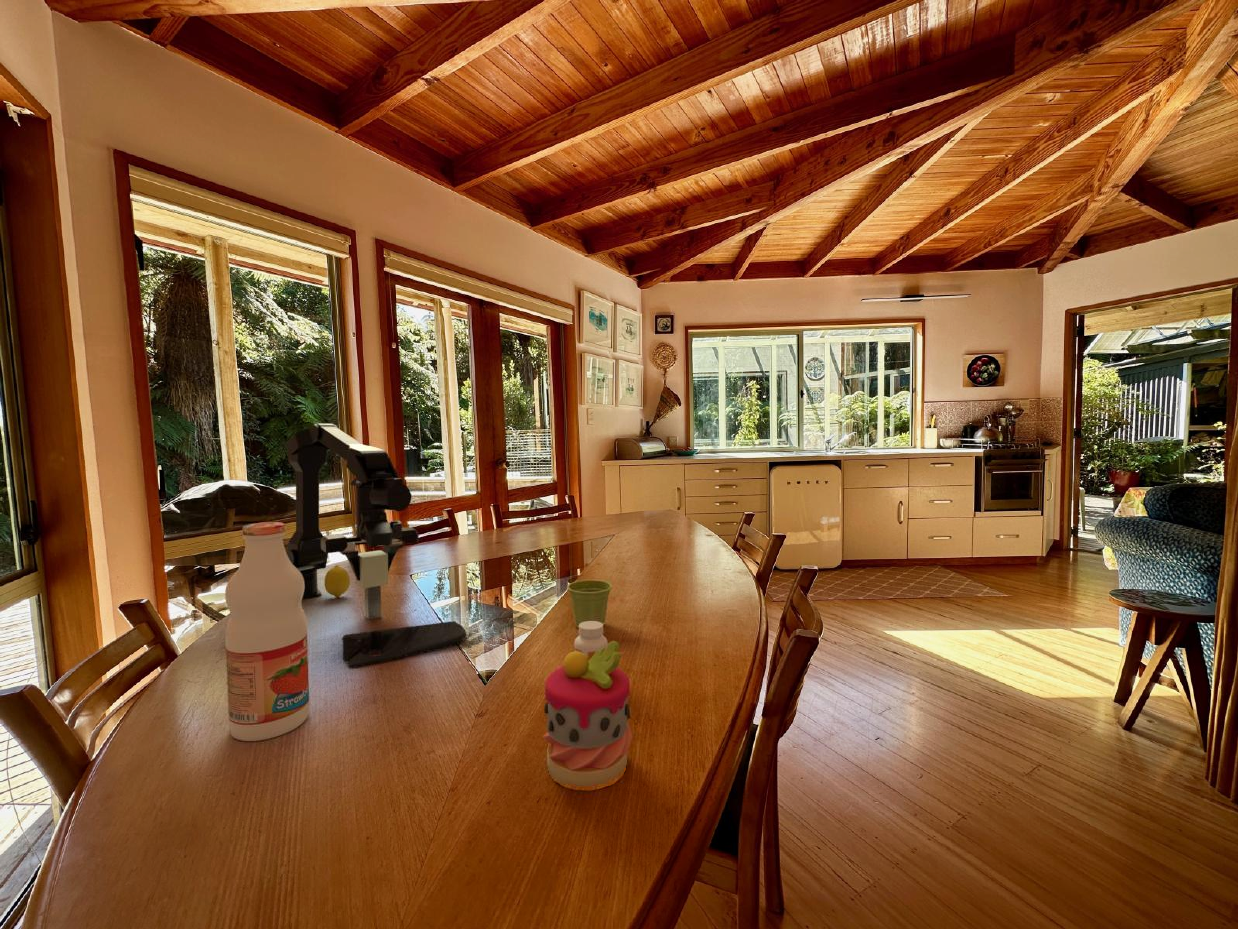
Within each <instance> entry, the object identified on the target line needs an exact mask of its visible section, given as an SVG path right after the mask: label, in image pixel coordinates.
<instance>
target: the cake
mask: <svg viewBox="0 0 1238 929" xmlns="http://www.w3.org/2000/svg"><path fill="white" fill-rule="evenodd" d="M620 661H621V653H620V644H619V642H618V641H615V640H611V641H610V642H609V643H607V647H606V649H605V650H604V651H603V650H601V649H599V650H598V651H597V652H596V653H595V654H594V655H593V657H592V658H591V659H590V660H589V661H588V658H587V657H586V655H585V654H583V653H581V652H579V651H571V652H569V653H567V655H566V656H565V657H564V659H563V663H562V665H563V666H560V667H559V668H556V669H555V670H554V671H552V672H551V673H550V674H549V675H548V676H547V678H546V679H545V683H544V684H545V686H544V701H546V703H545V705H544V712H543V713H544V715H545V714H546V728H547V729H546V730H547V732H546V733H545V734H544V735H543V736H542V737H541V738H542V739H544V741H547V742H548V745H547V748H546V756H547V757H546V767H547V766H548V769H547V772H548V771H549V773H550V774H551V776H552V777H553V778H554V779H556V780H558V781H560V782H562V783H563V784H568V785H573V786H583V787H587V786H594V785H598V784H603V783H605V782H607V781H609V780H613V779H614V778H615V777H617V776H618V775H619V774H620V773H622V772H623V770H624V768H625V767H626V765H627V766H628V751H629V749H630V747H631V744H632V743H631V742H632V738H633V733H632V730H631V727H630V724H629V722H628V720H629V719H631V716H630V713H631V712H630V706H629V704H628V699H629V698H628V696H630V691H631V690H630V679H629V677H628V675H627V674H626V673H625V671H623V670H622V669H620V668H619V667H618V666H619V665H620Z"/></svg>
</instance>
